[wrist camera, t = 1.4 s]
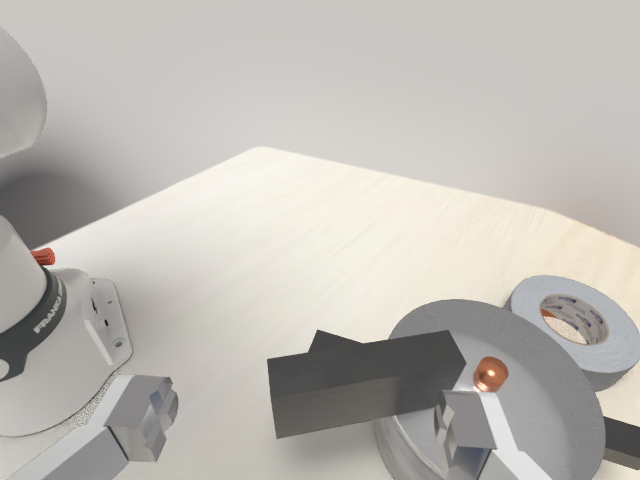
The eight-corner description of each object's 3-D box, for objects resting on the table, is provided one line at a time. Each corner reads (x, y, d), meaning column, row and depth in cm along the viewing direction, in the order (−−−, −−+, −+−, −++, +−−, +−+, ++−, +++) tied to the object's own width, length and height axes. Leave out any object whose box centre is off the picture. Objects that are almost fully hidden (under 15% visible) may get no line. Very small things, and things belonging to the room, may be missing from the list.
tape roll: (574, 416, 43) (597, 396, 39) (475, 321, 53) (486, 298, 49) (644, 359, 49) (669, 337, 45) (542, 283, 58) (557, 261, 55)
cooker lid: (514, 295, 43) (543, 243, 37) (654, 478, 29) (734, 438, 23) (266, 333, 38) (259, 280, 33) (290, 572, 24) (285, 549, 19)
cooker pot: (577, 396, 44) (624, 351, 38) (615, 590, 31) (697, 573, 25) (333, 324, 51) (337, 276, 45) (283, 458, 38) (278, 418, 32)
